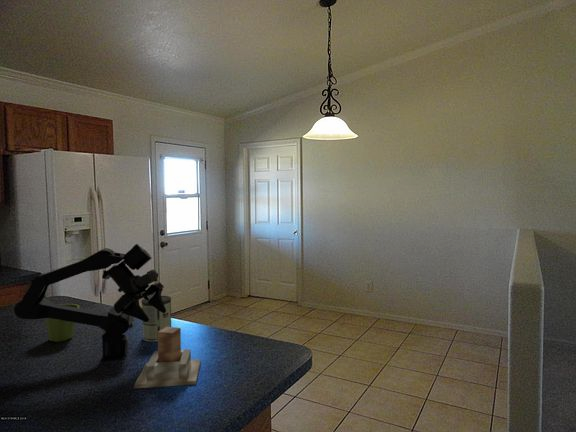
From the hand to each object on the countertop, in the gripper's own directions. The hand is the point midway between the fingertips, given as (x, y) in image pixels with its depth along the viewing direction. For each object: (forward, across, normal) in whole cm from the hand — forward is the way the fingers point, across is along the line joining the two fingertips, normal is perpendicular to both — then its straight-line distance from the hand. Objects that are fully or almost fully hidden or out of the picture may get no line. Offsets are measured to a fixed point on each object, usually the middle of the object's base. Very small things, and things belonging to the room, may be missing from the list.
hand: (157, 316), depth 118 cm
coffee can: (+2, +17, +18) cm, 25 cm away
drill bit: (-12, +25, +32) cm, 42 cm away
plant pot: (-22, +8, +41) cm, 47 cm away
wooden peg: (+16, -8, +2) cm, 18 cm away
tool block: (+16, -8, +3) cm, 19 cm away
